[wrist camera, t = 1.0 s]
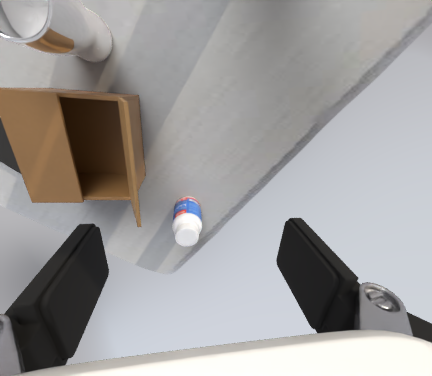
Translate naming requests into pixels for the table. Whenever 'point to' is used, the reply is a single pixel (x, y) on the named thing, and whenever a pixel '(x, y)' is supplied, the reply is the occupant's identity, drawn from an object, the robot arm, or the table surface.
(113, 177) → the carton
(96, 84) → the table surface
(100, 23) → the beer glass
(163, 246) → the table surface
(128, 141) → the flap
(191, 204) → the pill bottle
